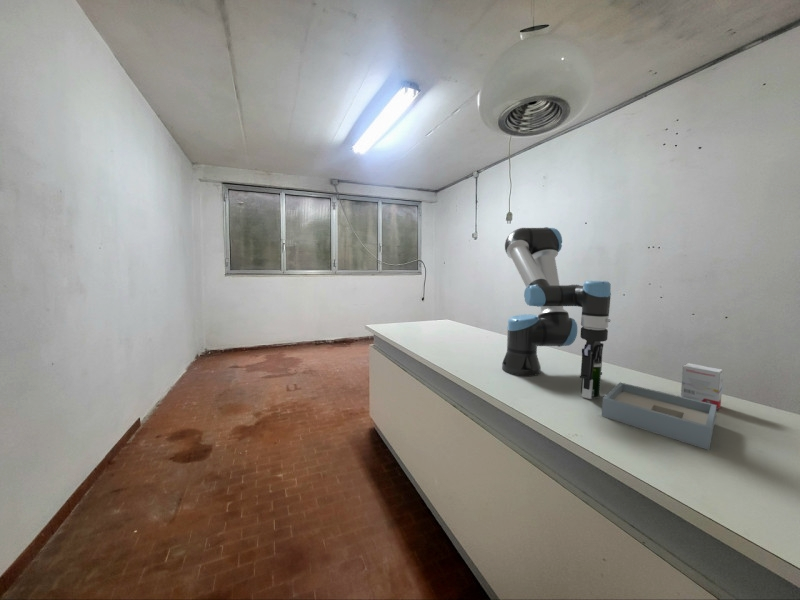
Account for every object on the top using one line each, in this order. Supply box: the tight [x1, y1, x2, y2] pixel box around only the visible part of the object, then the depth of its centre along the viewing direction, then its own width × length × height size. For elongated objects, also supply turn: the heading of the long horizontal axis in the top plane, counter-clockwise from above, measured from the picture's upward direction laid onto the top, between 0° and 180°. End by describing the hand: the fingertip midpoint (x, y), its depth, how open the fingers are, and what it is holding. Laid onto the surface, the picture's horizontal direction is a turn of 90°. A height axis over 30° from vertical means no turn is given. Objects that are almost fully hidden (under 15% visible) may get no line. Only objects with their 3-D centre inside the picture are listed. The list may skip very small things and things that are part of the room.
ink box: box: [680, 362, 724, 410], centre depth 95 cm, size 9×5×12 cm, turn 33°
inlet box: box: [601, 381, 717, 451], centre depth 85 cm, size 22×18×6 cm
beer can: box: [580, 361, 602, 400], centre depth 101 cm, size 5×5×12 cm
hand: (589, 394), depth 101 cm, fingers closed on beer can, 5 cm apart
